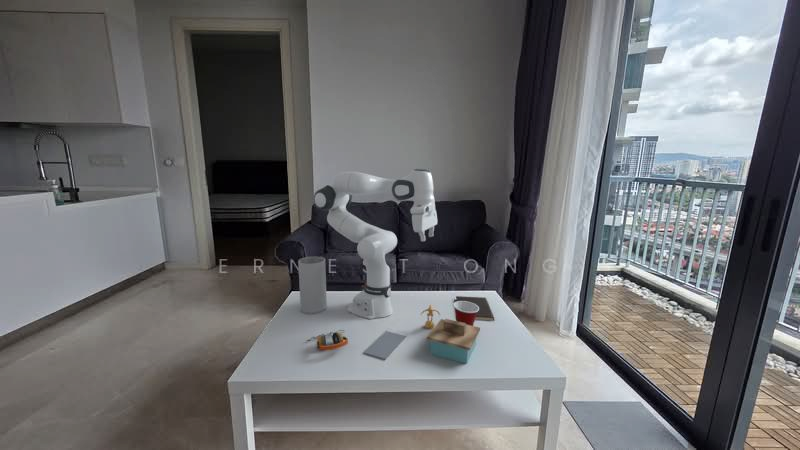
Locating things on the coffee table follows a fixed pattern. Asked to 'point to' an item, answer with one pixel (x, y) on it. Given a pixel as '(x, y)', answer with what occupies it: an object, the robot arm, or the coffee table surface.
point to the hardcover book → (483, 306)
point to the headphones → (336, 339)
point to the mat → (384, 345)
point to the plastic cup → (465, 312)
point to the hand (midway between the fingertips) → (427, 238)
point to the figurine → (429, 323)
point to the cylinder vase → (312, 284)
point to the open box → (451, 351)
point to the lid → (454, 333)
